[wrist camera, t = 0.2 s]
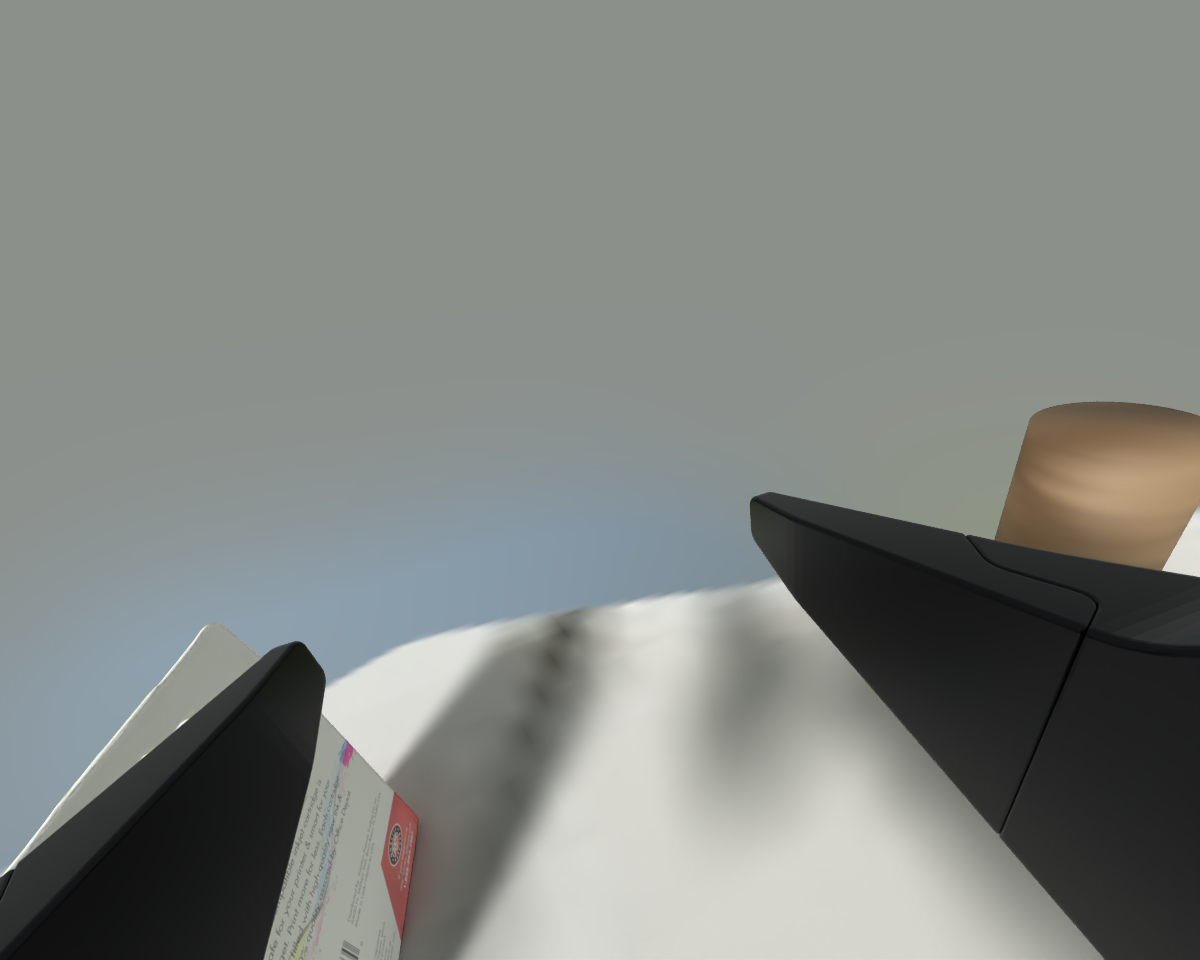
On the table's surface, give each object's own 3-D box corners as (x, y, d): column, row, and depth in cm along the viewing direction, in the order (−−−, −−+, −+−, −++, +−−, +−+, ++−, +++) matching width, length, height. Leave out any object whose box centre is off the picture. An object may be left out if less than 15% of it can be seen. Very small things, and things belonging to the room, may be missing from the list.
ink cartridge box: (321, 851, 21) (73, 650, 13) (423, 817, 21) (234, 603, 14) (217, 1189, 13) (-465, 1138, 6) (378, 1128, 13) (-86, 1010, 6)
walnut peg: (1115, 695, 19) (1275, 429, 13) (1036, 735, 18) (1163, 476, 12) (1007, 624, 23) (1089, 392, 17) (938, 655, 22) (996, 426, 16)
